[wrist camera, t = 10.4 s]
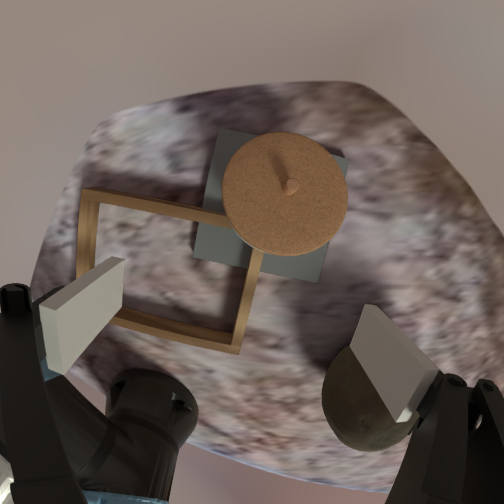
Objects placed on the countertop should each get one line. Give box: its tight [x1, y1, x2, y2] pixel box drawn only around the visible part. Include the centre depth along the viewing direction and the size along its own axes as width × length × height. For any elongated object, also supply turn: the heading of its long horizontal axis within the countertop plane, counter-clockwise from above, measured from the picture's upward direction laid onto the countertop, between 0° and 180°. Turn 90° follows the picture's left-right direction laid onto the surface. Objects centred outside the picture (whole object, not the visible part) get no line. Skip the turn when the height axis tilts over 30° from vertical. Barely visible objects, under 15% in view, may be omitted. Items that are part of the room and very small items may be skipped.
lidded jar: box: [222, 132, 348, 256], centre depth 26 cm, size 11×11×9 cm
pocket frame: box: [76, 187, 264, 355], centre depth 34 cm, size 16×22×3 cm
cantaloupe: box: [322, 345, 420, 452], centre depth 32 cm, size 14×14×15 cm
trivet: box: [193, 128, 349, 283], centre depth 33 cm, size 15×15×1 cm
